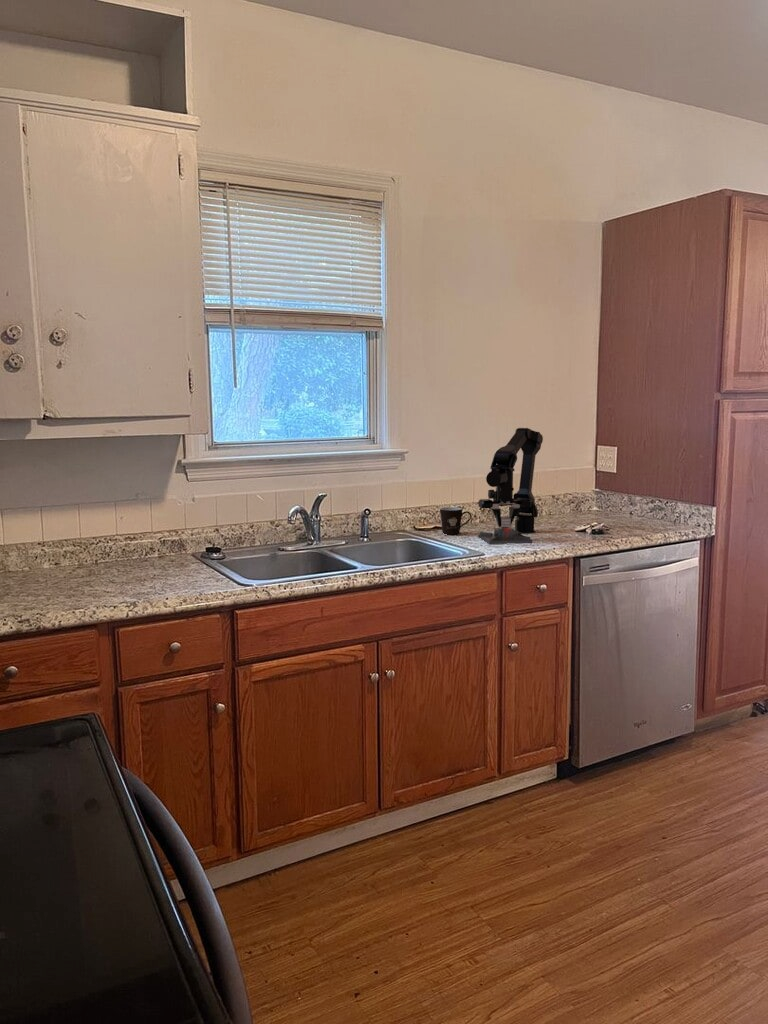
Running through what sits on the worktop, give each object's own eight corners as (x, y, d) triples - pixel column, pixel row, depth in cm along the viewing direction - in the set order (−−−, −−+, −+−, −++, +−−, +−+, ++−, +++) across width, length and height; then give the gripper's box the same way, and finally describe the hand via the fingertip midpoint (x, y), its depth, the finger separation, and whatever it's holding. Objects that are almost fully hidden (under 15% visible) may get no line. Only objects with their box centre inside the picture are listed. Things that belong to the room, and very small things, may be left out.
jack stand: (518, 535, 297) (518, 523, 297) (532, 542, 282) (532, 529, 281) (477, 536, 295) (477, 524, 294) (489, 544, 279) (489, 531, 279)
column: (507, 534, 290) (507, 516, 289) (510, 536, 287) (510, 517, 286) (498, 535, 290) (498, 516, 289) (501, 536, 286) (501, 517, 285)
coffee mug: (437, 535, 299) (437, 509, 297) (443, 532, 307) (443, 506, 305) (467, 537, 295) (467, 510, 293) (472, 533, 303) (472, 507, 302)
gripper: (522, 481, 295) (521, 522, 297) (474, 482, 292) (474, 523, 294) (532, 484, 284) (531, 526, 286) (482, 485, 281) (482, 528, 283)
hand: (504, 526), depth 288 cm, fingers closed on column, 4 cm apart
